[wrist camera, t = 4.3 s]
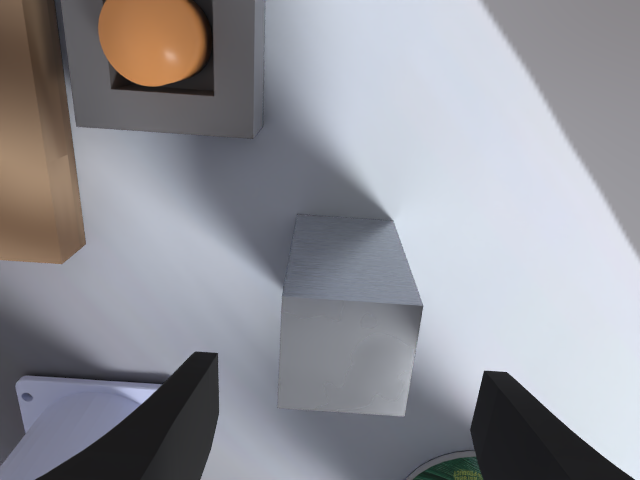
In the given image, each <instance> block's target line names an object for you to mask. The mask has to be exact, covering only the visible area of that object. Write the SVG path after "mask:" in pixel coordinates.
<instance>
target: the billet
mask: <svg viewBox="0 0 640 480" xmlns="http://www.w3.org/2000/svg"><path fill="white" fill-rule="evenodd" d="M422 310H423V304H422V301H421V298H420V295H419V292H418V289H417V287H416V284H415V281H414V278H413V275H412V272H411V270H410V267H409V264H408V261H407V258H406V255H405V253H404V250H403V247H402V244H401V241H400V238H399V235H398V233H397V230H396V227H395V224H394V221H391V220H376V219H362V218H347V217H333V216H318V215H304V214H297V219H296V224H295V230H294V235H293V240H292V246H291V251H290V256H289V262H288V267H287V272H286V278H285V283H284V288H283V294H282V310H281V334H280V359H279V383H278V407H277V408H281V409H297V410H312V411H327V412H343V413H358V414H373V415H389V416H404V417H405V411H406V405H407V399H408V393H409V387H410V381H411V375H412V370H413V364H414V358H415V352H416V346H417V340H418V334H419V328H420V322H421V316H422Z"/></svg>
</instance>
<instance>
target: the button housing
mask: <svg viewBox="0 0 640 480" xmlns="http://www.w3.org/2000/svg"><path fill="white" fill-rule="evenodd" d="M105 1H106V0H61V8H62V16H63V24H64V32H65V40H66V48H67V56H68V64H69V72H70V80H71V88H72V96H73V104H74V112H75V120H76V127H89V128H104V129H119V130H133V131H148V132H162V133H177V134H191V135H206V136H221V137H235V138H250V139H253V138H254V137H255V136H256V135H257V133H258V132H259V131H260V130H261V128H262V127H263V91H264V39H265V0H193V1H194V2H195V3H196V4H197V5H198V6H199V7H200V8H201V9H202V11H203V12H204V14H205V15H206V17H207V19H208V21H209V24H210V27H211V31H212V40H213V41H212V50H211V54H210V57H209V59H208V62H207V63H206V65H205V66H204V67H203V69H202V70H201V71H200V72H199V73H197V74H196V75H194V76H193V77H190V78H188V79H185V80H181V81H177V82H173V83H170V84H166V85H162V86H143V85H139V84H136V83H134V82H132V81H130V80H128V79H126V78H125V77H123V76H122V75H121V74H120V73H119V72H117V71H116V70H115V69H114V67H113V66H112V65H111V64H110V62H109V61H108V59H107V58H106V56H105V54H104V52H103V49H102V47H101V43H100V40H99V33H98V23H99V16H100V12H101V10H102V7H103V5H104V3H105Z"/></svg>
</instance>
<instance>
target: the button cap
mask: <svg viewBox="0 0 640 480" xmlns="http://www.w3.org/2000/svg"><path fill="white" fill-rule="evenodd" d="M98 33H99V40H100V43H101V47H102V49H103V52H104V54H105V56H106V58H107V59H108V61H109V62H110V64H111V65H112V66H113V67H114V69H115V70H116V71H117V72H119V73H120V74H121V75H122V76H123V77H125V78H126V79H128V80H130V81H132V82H134V83H136V84H139V85H143V86H162V85H166V84H170V83H173V82H177V81H181V80H185V79H188V78H190V77H193V76H194V75H196V74H197V73H199V72H200V71H201V70H202V69H203V67H204V66H205V65H206V63H207V62H208V59H209V57H210V54H211V50H212V41H213V40H212V31H211V27H210V24H209V21H208V19H207V17H206V15H205V14H204V12H203V11H202V9H201V8H200V7H199V6H198V5H197V4H196V3H195V2H194V1H193V0H106V1H105V3H104V5H103V7H102V10H101V12H100V16H99V23H98Z"/></svg>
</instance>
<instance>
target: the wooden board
mask: <svg viewBox="0 0 640 480" xmlns="http://www.w3.org/2000/svg"><path fill="white" fill-rule="evenodd" d="M84 245H86V241H85V233H84V226H83V218H82V210H81V203H80V195H79V187H78V179H77V172H76V164H75V156H74V149H73V141H72V133H71V126H70V118H69V110H68V103H67V95H66V87H65V80H64V72H63V64H62V56H61V49H60V41H59V33H58V26H57V18H56V10H55V3H54V0H0V260H8V261H23V262H38V263H53V264H63V263H64V262H65V261H66V260H68V259H69V258H70V257H71V256H72V255H74V254H75V253H76V252H77V251H78V250H80V249H81V248H82V247H83V246H84Z"/></svg>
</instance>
